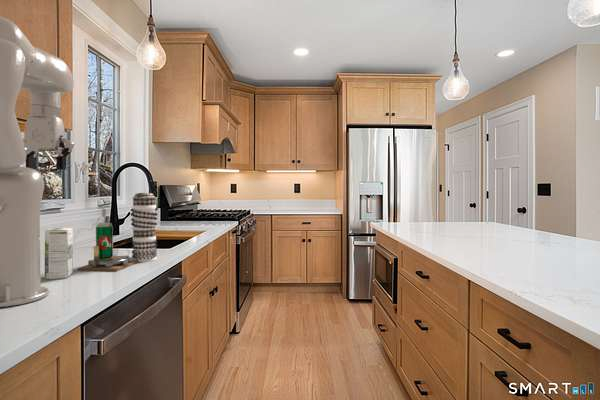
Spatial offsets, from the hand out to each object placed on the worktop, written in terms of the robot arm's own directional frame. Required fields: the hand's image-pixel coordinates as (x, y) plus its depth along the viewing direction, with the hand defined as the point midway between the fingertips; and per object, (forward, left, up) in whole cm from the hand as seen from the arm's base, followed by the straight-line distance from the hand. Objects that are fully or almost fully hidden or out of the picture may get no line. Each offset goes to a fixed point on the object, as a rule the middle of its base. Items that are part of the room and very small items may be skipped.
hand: (46, 169), depth 103 cm
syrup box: (-4, -7, -32) cm, 33 cm away
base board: (+10, -13, -32) cm, 36 cm away
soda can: (+12, -11, -30) cm, 34 cm away
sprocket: (+11, -14, -31) cm, 36 cm away
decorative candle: (+22, -20, -32) cm, 44 cm away
